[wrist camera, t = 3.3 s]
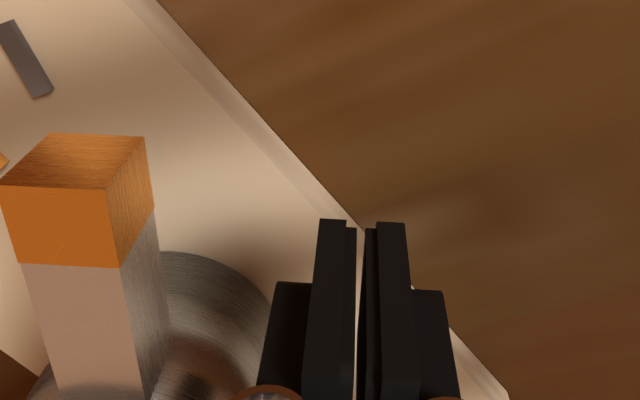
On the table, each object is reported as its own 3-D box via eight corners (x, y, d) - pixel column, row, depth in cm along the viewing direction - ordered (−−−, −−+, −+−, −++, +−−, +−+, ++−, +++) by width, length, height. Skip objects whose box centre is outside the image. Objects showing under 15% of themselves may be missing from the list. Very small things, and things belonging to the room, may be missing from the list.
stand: (507, 392, 21) (518, 434, 20) (261, 498, 26) (255, 540, 24) (77, -88, 14) (42, -78, 12) (-164, 178, 18) (-212, 209, 17)
